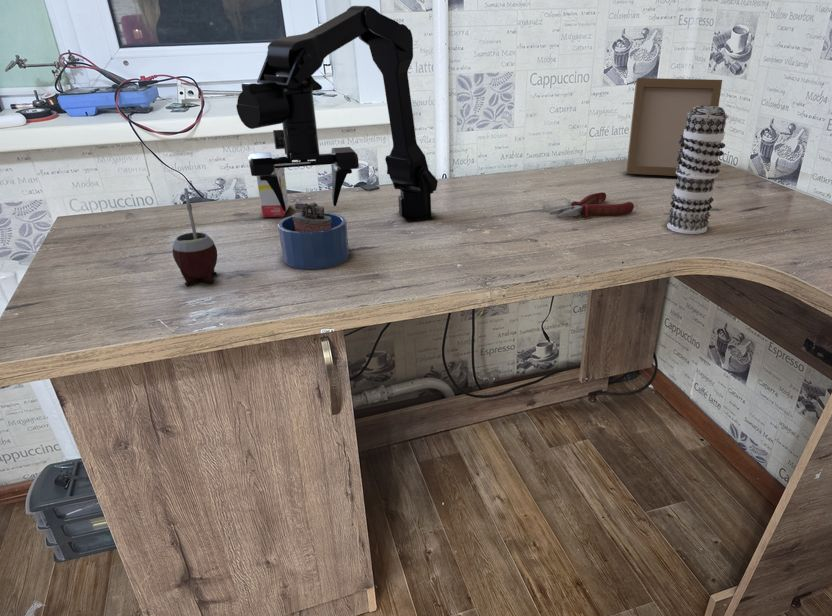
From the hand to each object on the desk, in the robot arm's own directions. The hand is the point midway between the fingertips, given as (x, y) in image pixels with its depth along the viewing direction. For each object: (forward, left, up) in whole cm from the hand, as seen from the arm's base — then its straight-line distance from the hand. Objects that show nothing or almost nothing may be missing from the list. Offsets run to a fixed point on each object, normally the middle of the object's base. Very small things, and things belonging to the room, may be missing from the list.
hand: (309, 208), depth 117 cm
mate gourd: (+21, +4, -10) cm, 23 cm away
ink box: (+5, -32, -10) cm, 34 cm away
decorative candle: (-79, +9, -10) cm, 80 cm away
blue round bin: (0, 0, -10) cm, 10 cm away
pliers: (-64, -9, -10) cm, 65 cm away
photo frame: (-103, -34, -10) cm, 109 cm away
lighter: (0, 0, -9) cm, 9 cm away
